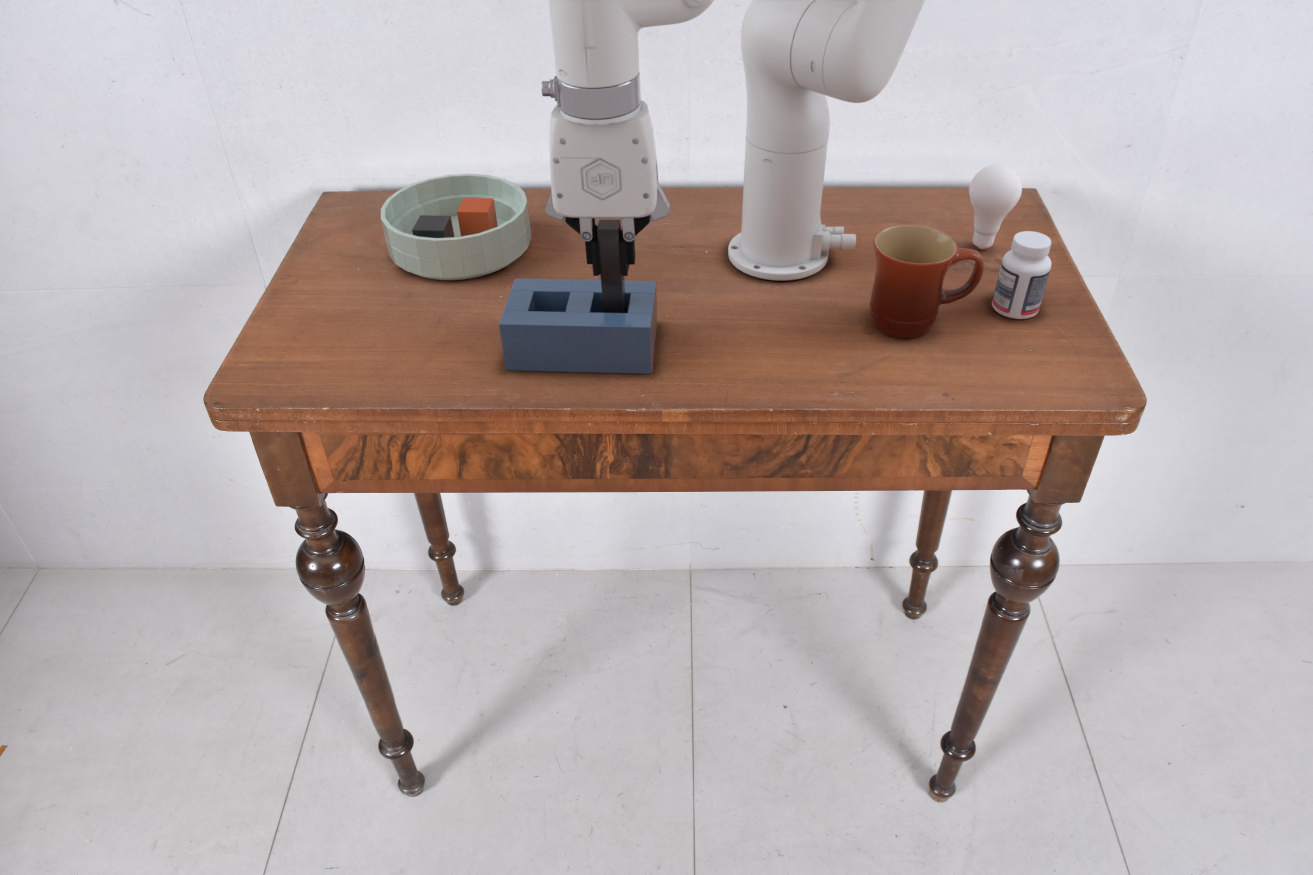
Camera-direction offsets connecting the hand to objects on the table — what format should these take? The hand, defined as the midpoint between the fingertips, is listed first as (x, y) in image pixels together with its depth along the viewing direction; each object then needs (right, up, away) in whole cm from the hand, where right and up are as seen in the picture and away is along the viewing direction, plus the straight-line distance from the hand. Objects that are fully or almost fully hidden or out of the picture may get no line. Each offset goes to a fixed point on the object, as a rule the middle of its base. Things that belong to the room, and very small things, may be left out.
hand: (611, 268), depth 97 cm
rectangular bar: (0, -5, +5) cm, 7 cm away
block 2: (-19, +9, +26) cm, 33 cm away
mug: (+34, -5, +9) cm, 36 cm away
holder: (-3, -8, +6) cm, 11 cm away
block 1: (-23, +6, +22) cm, 33 cm away
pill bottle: (+46, -3, +11) cm, 48 cm away
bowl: (-21, +7, +24) cm, 33 cm away
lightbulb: (+46, +6, +22) cm, 52 cm away
